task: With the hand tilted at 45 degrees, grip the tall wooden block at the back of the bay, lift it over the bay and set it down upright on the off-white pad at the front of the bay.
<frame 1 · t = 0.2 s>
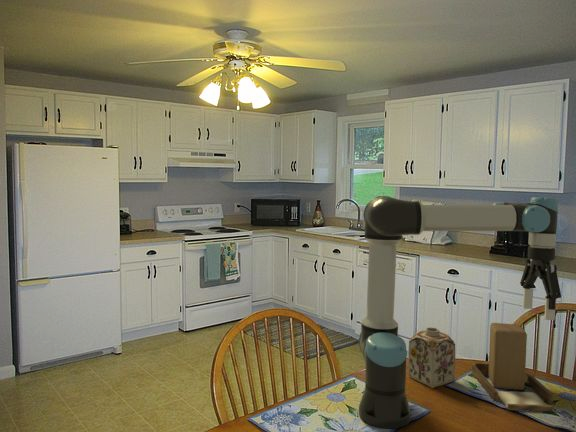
hand: (537, 314, 151), 28 cm above the table, tool pointing down, fingers open, 13 cm apart
decorative jar: (430, 379, 169), on the table
wooden block: (505, 384, 166), resting in bay
bay: (507, 388, 162), on the table
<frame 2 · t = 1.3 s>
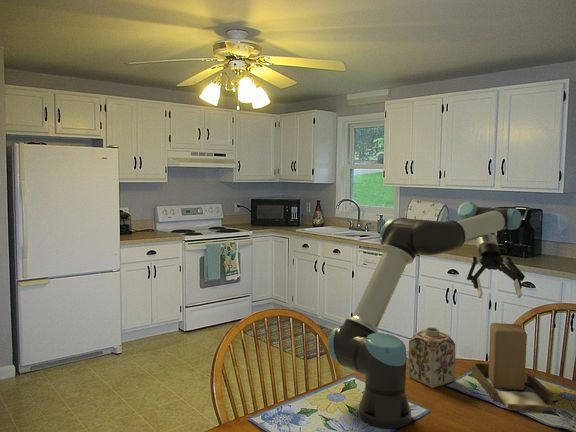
hand: (500, 296, 173), 28 cm above the table, tool tilted 45°, fingers open, 13 cm apart
nothing on the table moved.
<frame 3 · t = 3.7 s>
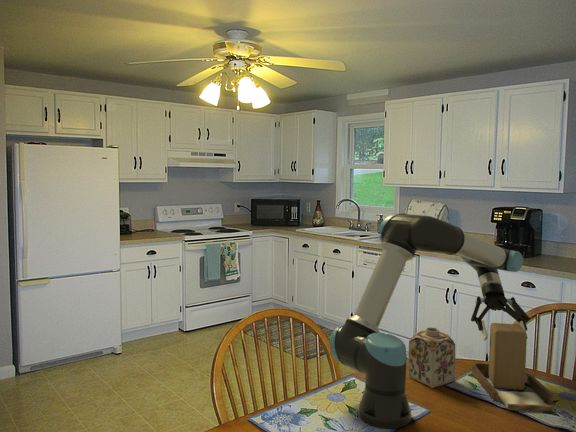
hand: (505, 339, 169), 14 cm above the table, tool tilted 45°, fingers open, 13 cm apart
nothing on the table moved.
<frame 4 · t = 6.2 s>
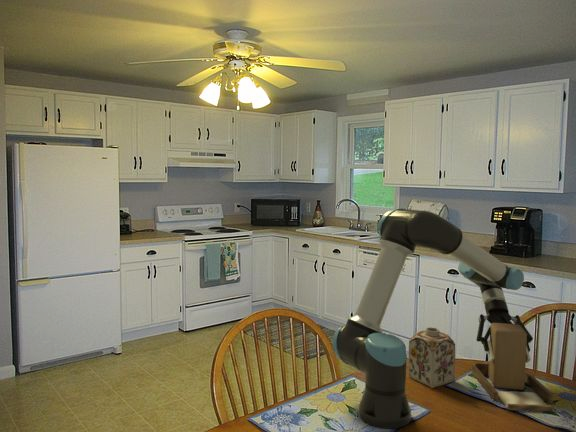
hand: (510, 360, 162), 9 cm above the table, tool tilted 45°, fingers closed on wooden block, 11 cm apart
wooden block: (505, 384, 166), resting in bay, touching gripper
everything else where it was.
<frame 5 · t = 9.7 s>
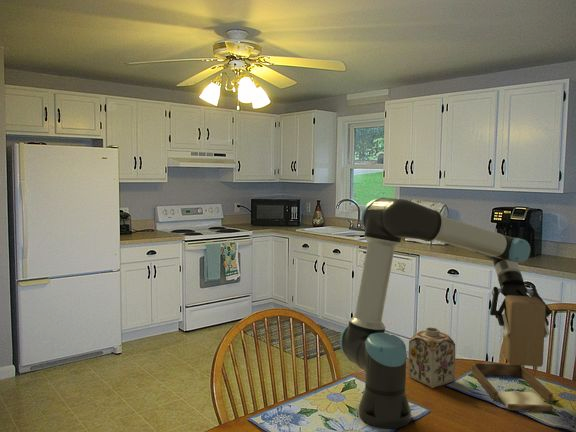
hand: (527, 335, 150), 22 cm above the table, tool tilted 45°, fingers closed on wooden block, 11 cm apart
wooden block: (521, 361, 153), point 13 cm above the table, touching gripper
everything else where it was.
when the fingers open (11 cm above the table, at t = 13.2 s): wooden block drops 1 cm, resting on bay.
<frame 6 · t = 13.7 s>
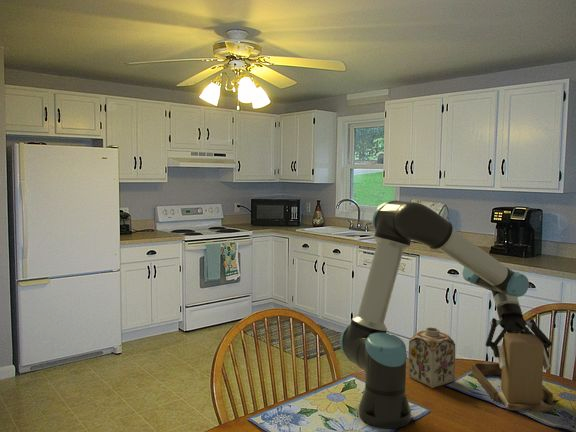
hand: (525, 367, 151), 11 cm above the table, tool tilted 45°, fingers open, 13 cm apart
wooden block: (520, 399, 154), resting on bay
everything else where it was.
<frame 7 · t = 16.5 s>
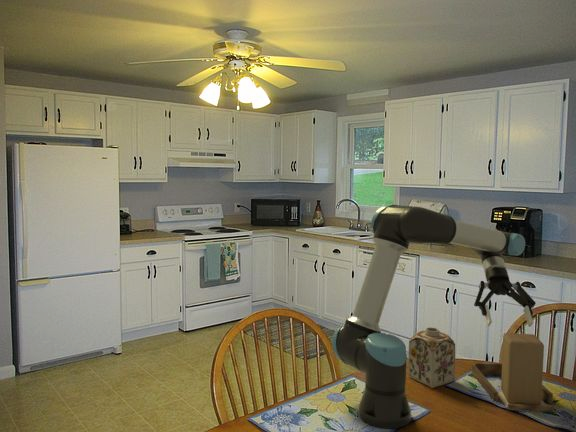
hand: (510, 324, 163), 21 cm above the table, tool tilted 45°, fingers open, 13 cm apart
nothing on the table moved.
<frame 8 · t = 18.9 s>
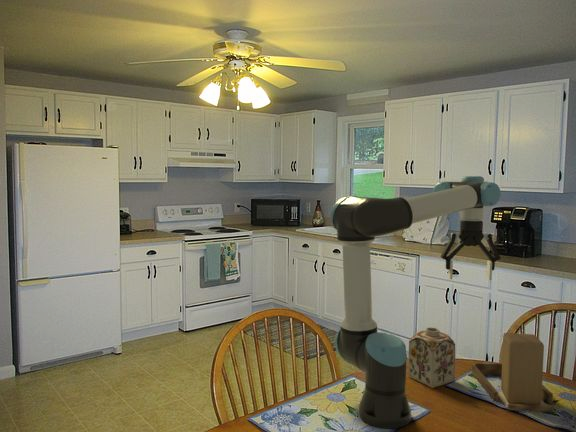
hand: (469, 279, 172), 35 cm above the table, tool pointing down, fingers open, 13 cm apart
nothing on the table moved.
at the end: wooden block inside the target area (0.2 cm from its centre), resting on bay; wooden block tilted 0°; the gripper is holding nothing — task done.
